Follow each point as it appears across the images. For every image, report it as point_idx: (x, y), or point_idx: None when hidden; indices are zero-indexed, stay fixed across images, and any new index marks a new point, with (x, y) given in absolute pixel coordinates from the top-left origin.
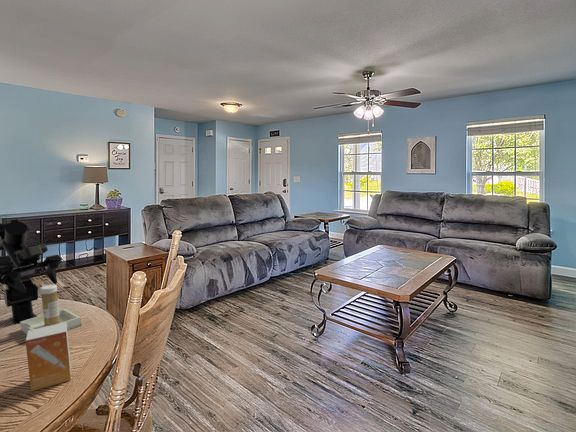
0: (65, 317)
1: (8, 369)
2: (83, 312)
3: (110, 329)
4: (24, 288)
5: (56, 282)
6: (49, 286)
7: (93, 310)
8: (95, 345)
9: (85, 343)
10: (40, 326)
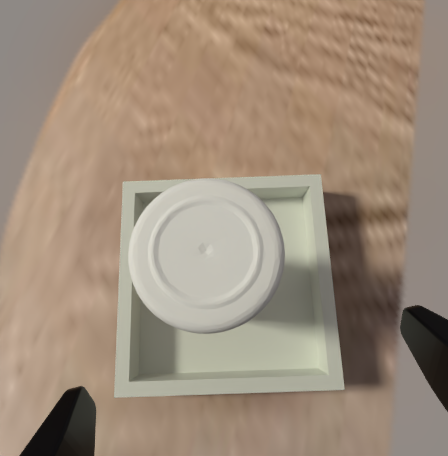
0: (145, 334)
1: (410, 53)
2: (51, 361)
3: (87, 73)
4: (443, 326)
5: (76, 388)
6: (196, 248)
7: (9, 343)
8: (180, 3)
9: (194, 38)
10: (262, 315)
